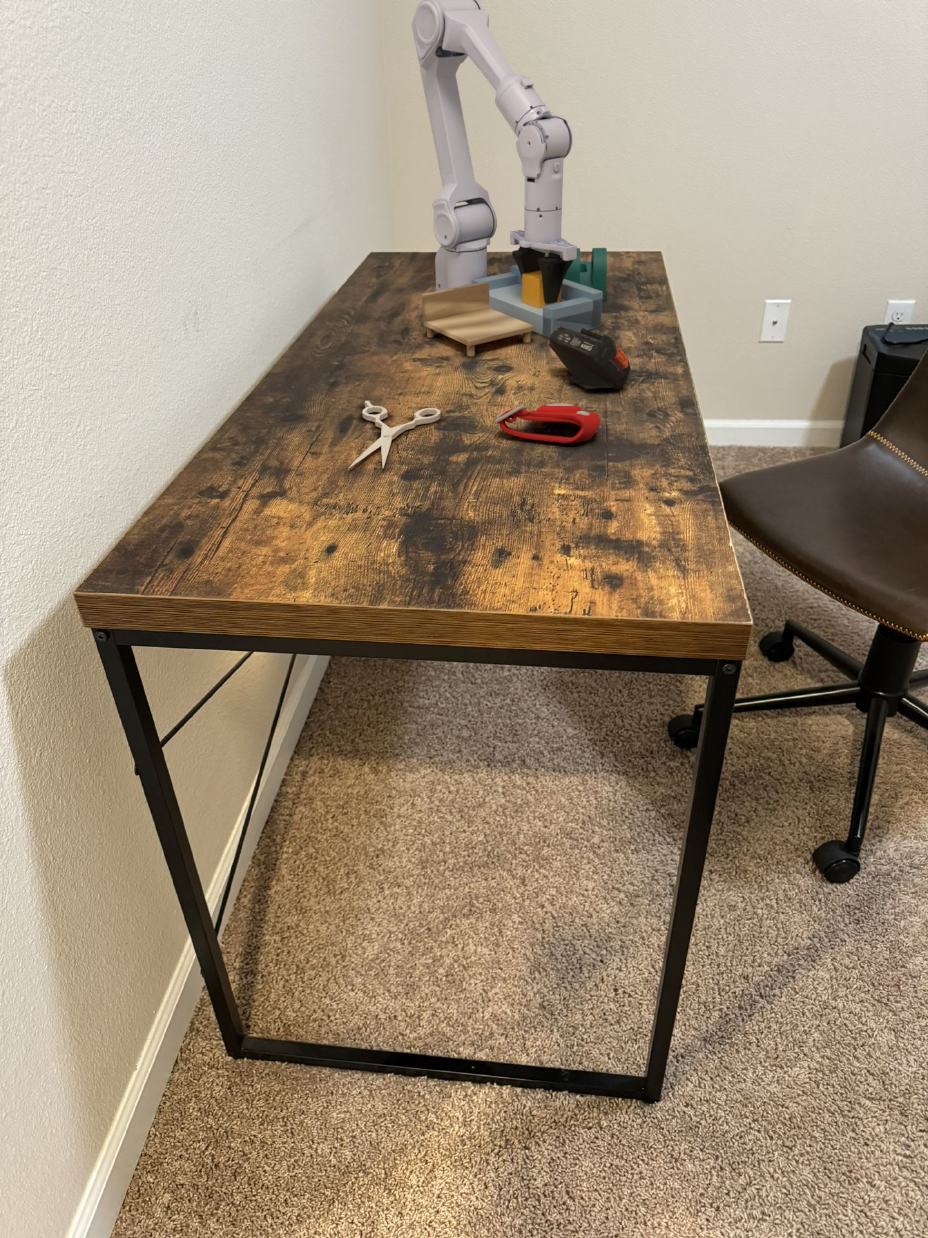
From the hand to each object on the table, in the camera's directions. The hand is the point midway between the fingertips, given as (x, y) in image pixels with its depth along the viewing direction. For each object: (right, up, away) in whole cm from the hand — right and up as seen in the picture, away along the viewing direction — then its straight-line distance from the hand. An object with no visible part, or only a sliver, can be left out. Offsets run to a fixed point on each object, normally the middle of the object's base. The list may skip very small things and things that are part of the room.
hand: (541, 298), depth 147 cm
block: (0, -1, 0) cm, 1 cm away
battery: (+5, -19, -21) cm, 29 cm away
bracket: (+9, +9, +19) cm, 22 cm away
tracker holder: (-2, -29, -34) cm, 45 cm away
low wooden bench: (-10, -8, -4) cm, 14 cm away
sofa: (-1, -1, +5) cm, 5 cm away
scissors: (-22, -29, -35) cm, 51 cm away
